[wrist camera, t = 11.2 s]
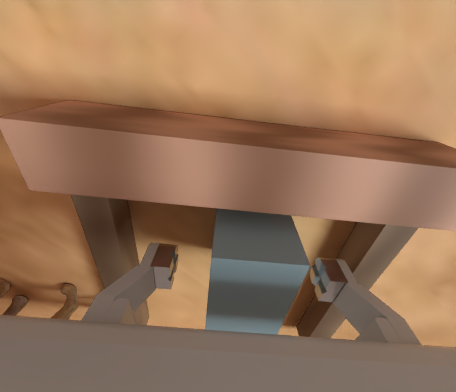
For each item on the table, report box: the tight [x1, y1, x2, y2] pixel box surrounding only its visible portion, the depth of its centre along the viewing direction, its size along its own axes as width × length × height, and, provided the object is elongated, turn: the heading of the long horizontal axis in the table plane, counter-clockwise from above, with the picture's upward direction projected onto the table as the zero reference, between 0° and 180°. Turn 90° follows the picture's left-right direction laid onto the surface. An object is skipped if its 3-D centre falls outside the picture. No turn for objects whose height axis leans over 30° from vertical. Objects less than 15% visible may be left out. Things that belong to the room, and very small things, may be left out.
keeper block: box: [205, 208, 310, 335], centre depth 12 cm, size 4×6×6 cm, turn 174°
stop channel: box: [0, 100, 456, 338], centre depth 15 cm, size 20×21×4 cm
